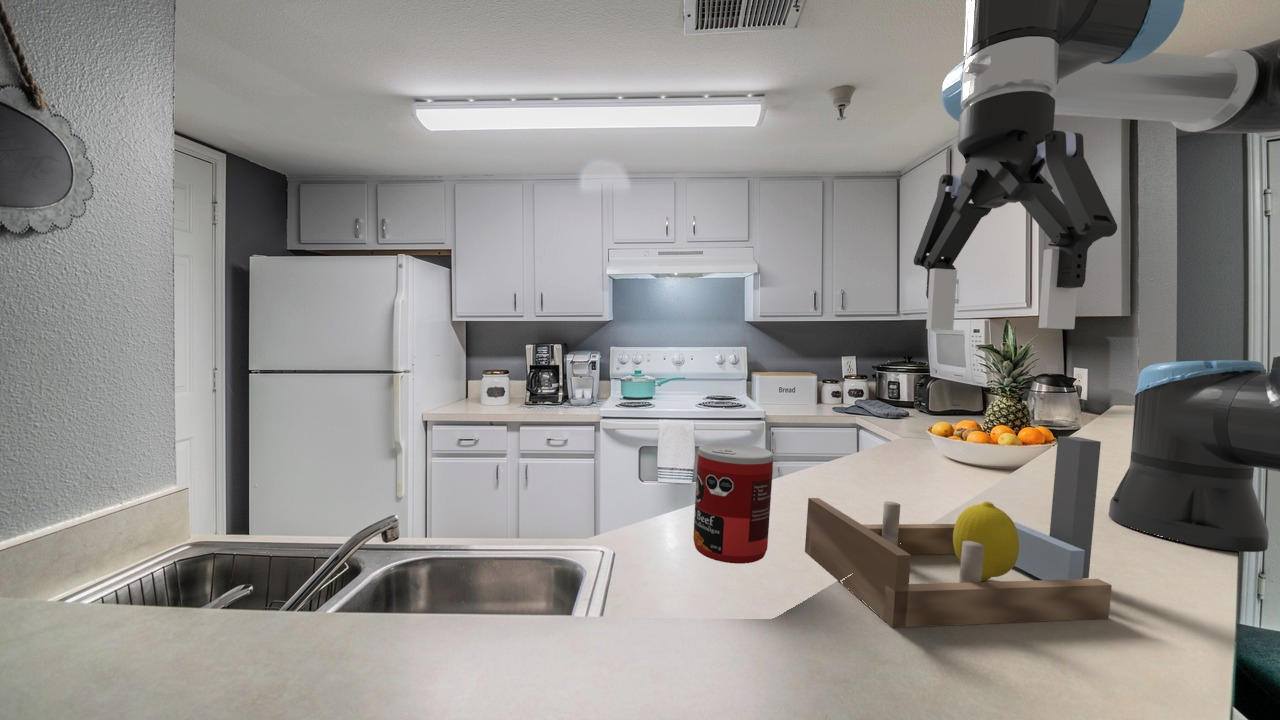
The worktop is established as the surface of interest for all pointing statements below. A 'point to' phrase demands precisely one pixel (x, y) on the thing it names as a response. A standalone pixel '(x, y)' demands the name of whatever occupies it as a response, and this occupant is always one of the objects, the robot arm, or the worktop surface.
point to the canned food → (732, 502)
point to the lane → (936, 604)
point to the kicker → (1065, 516)
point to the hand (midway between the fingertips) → (990, 329)
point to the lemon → (988, 537)
